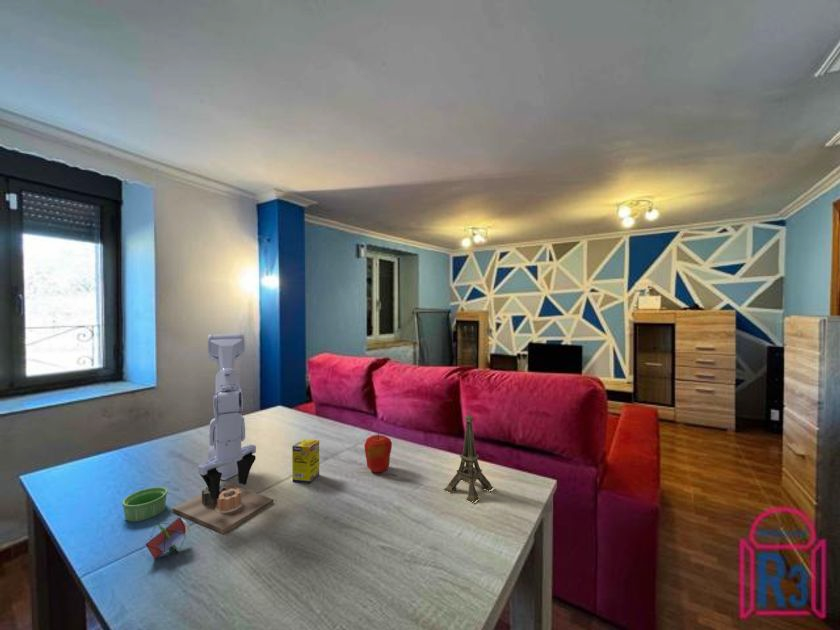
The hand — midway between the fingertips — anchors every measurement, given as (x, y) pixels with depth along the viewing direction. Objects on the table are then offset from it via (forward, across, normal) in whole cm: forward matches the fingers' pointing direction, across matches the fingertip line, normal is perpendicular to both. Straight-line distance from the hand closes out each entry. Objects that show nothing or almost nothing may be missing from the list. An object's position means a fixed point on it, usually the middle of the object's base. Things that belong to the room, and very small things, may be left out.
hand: (229, 490), depth 89 cm
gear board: (+5, 0, +2) cm, 5 cm away
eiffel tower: (+5, +36, -53) cm, 64 cm away
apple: (+5, +35, -23) cm, 42 cm away
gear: (+4, 0, 0) cm, 4 cm away
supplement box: (+5, +21, -6) cm, 22 cm away
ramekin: (+5, -10, +18) cm, 21 cm away
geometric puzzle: (+5, -16, -3) cm, 17 cm away
